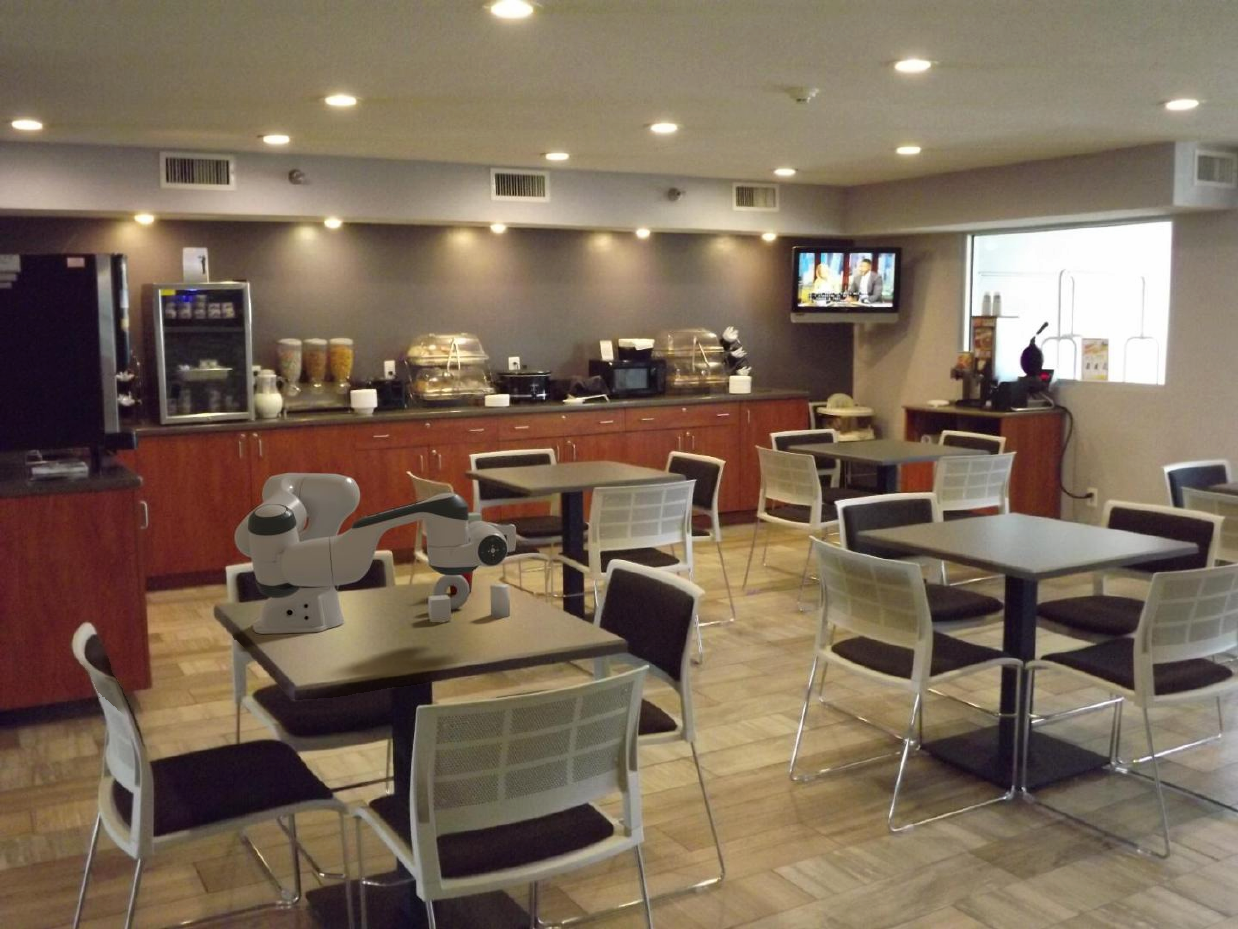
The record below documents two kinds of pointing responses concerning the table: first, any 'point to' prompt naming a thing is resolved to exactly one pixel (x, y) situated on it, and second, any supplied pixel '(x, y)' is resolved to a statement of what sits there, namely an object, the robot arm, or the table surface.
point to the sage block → (474, 517)
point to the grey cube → (439, 608)
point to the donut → (458, 583)
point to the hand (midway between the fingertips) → (469, 531)
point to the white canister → (500, 600)
